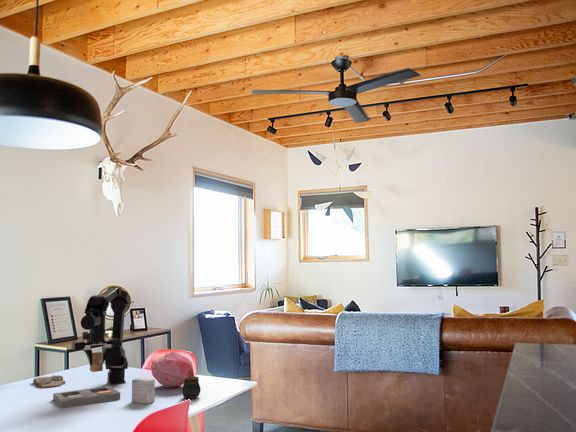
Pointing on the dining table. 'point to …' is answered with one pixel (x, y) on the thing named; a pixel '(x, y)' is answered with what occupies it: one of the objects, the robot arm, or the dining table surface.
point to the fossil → (49, 381)
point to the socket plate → (86, 396)
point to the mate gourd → (191, 387)
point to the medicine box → (143, 390)
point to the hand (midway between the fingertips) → (96, 365)
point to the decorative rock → (171, 369)
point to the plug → (97, 362)
